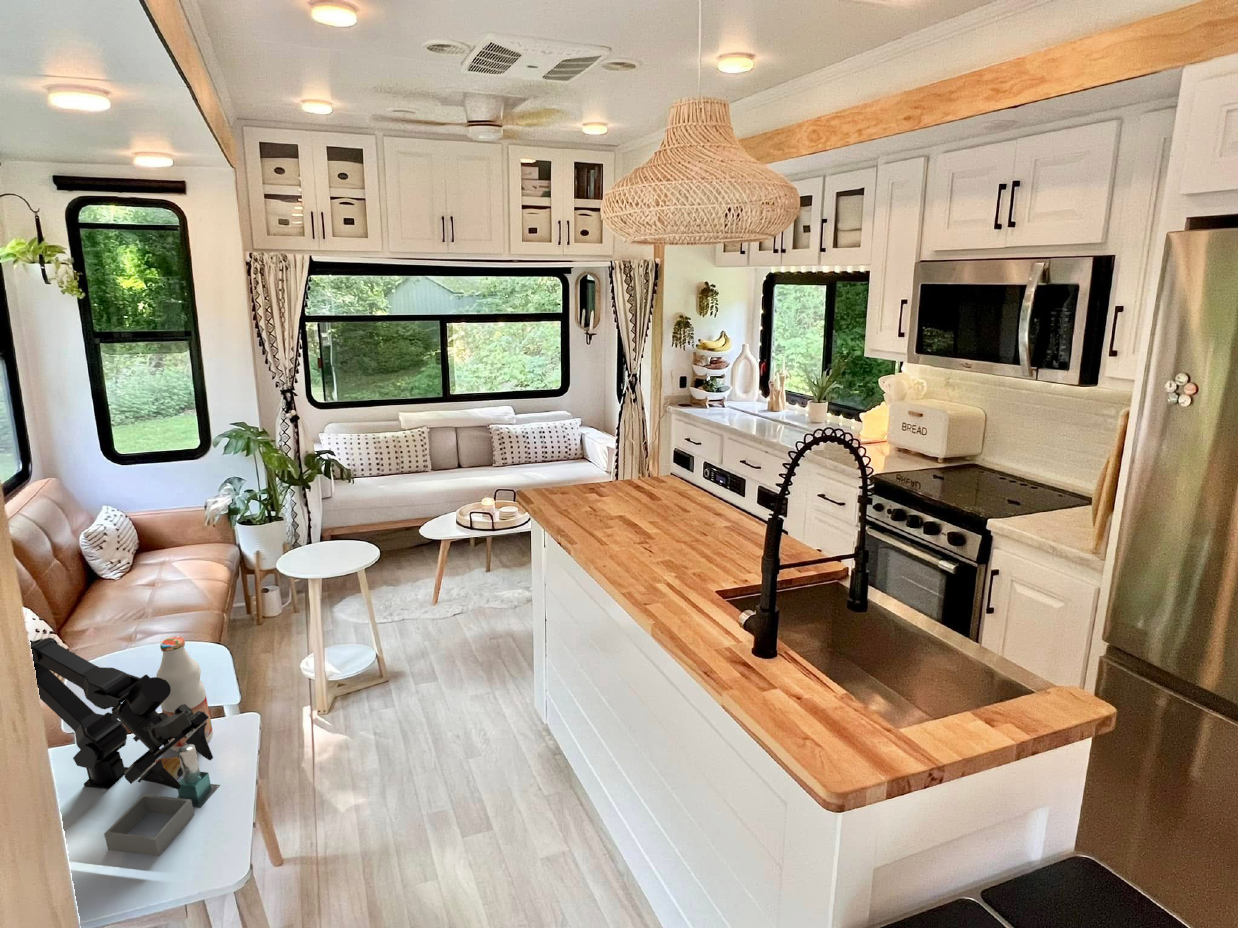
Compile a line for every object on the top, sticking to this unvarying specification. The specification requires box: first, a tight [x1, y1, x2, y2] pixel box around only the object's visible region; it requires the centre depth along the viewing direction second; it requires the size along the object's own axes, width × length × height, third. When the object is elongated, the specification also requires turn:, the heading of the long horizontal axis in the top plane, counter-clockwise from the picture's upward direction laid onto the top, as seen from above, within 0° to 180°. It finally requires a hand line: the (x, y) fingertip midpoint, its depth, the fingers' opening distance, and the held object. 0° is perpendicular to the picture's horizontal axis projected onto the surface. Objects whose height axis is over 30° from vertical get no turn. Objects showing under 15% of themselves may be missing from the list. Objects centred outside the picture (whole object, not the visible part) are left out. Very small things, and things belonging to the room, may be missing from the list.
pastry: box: [155, 756, 183, 780], centre depth 176 cm, size 9×7×4 cm
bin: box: [103, 793, 195, 857], centre depth 158 cm, size 11×11×5 cm
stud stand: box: [176, 783, 221, 809], centre depth 169 cm, size 7×7×4 cm
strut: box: [177, 744, 212, 803], centre depth 167 cm, size 4×4×12 cm
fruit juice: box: [155, 635, 214, 753], centre depth 182 cm, size 9×9×28 cm
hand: (196, 772), depth 167 cm, fingers open, 9 cm apart
